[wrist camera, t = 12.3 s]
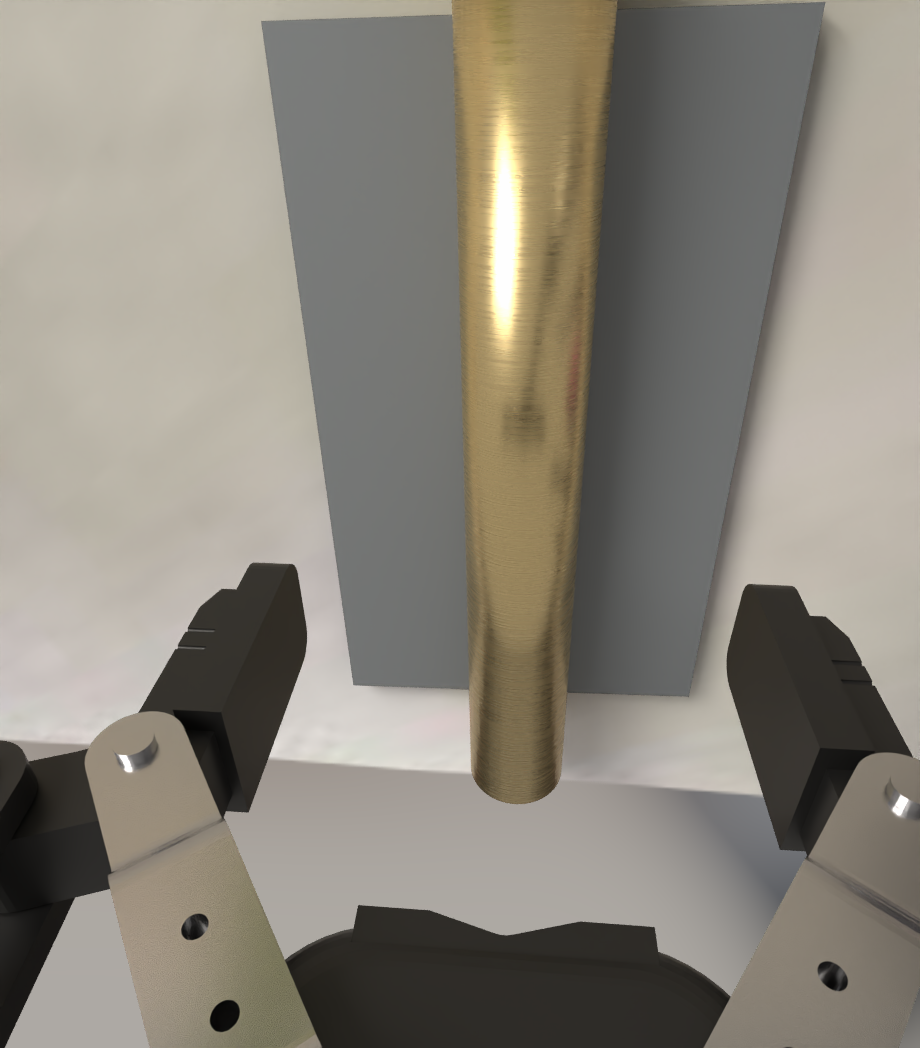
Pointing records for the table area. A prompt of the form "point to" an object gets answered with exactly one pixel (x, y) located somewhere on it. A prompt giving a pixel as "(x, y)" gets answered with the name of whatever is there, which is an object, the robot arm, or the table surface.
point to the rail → (526, 357)
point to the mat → (618, 335)
